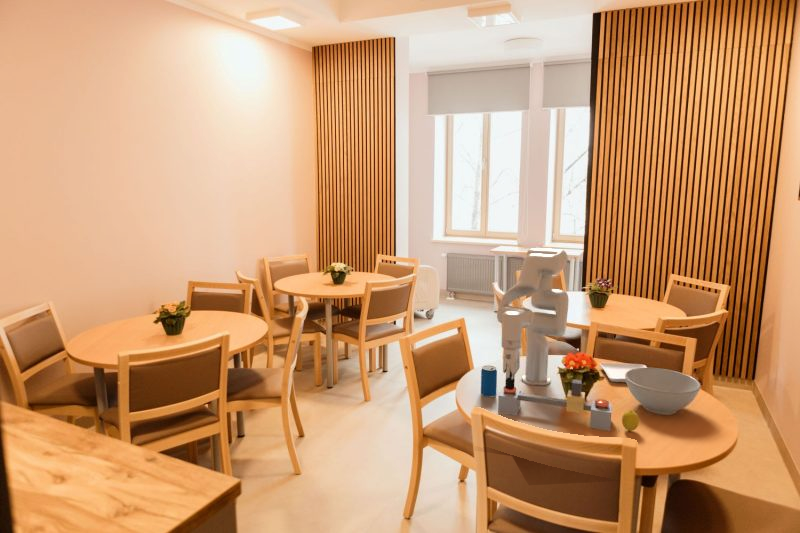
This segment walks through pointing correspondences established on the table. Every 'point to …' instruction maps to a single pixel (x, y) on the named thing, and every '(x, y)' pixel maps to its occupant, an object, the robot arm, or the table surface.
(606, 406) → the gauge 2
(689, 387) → the decorative bowl
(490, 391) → the beverage can
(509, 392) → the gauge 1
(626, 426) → the lemon
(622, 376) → the salad plate
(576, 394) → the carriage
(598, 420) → the slide rail
